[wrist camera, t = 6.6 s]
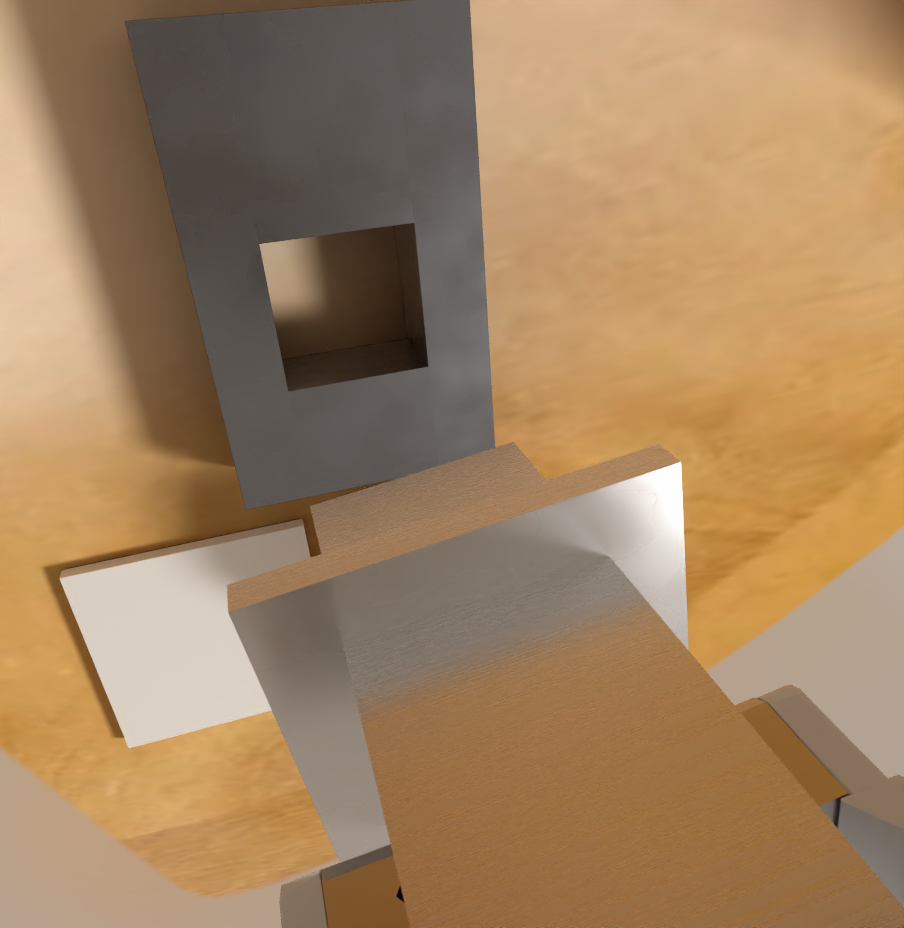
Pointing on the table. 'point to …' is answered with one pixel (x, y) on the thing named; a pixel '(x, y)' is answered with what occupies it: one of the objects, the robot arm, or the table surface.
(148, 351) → the table surface
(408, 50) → the post block
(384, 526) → the peg
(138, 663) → the pad
